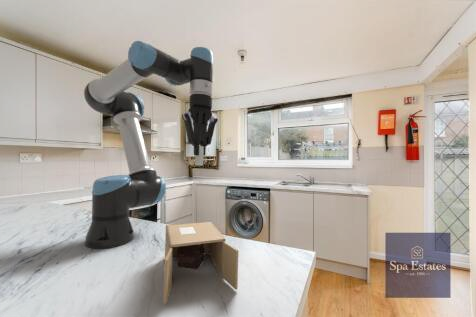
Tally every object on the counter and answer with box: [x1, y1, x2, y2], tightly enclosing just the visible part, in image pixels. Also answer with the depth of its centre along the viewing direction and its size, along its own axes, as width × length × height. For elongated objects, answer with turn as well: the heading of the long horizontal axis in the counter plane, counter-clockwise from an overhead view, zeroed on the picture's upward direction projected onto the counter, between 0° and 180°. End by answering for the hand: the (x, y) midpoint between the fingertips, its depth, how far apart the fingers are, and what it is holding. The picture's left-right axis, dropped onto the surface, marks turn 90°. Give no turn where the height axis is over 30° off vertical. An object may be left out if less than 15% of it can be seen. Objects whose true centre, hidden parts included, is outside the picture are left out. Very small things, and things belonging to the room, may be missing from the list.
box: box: [176, 244, 205, 271], centre depth 63 cm, size 6×6×7 cm
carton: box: [164, 221, 226, 279], centre depth 61 cm, size 16×14×10 cm
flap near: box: [163, 248, 173, 305], centre depth 48 cm, size 1×6×9 cm, turn 7°
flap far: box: [222, 241, 239, 290], centre depth 53 cm, size 1×6×9 cm, turn 34°
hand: (199, 165), depth 74 cm, fingers closed
